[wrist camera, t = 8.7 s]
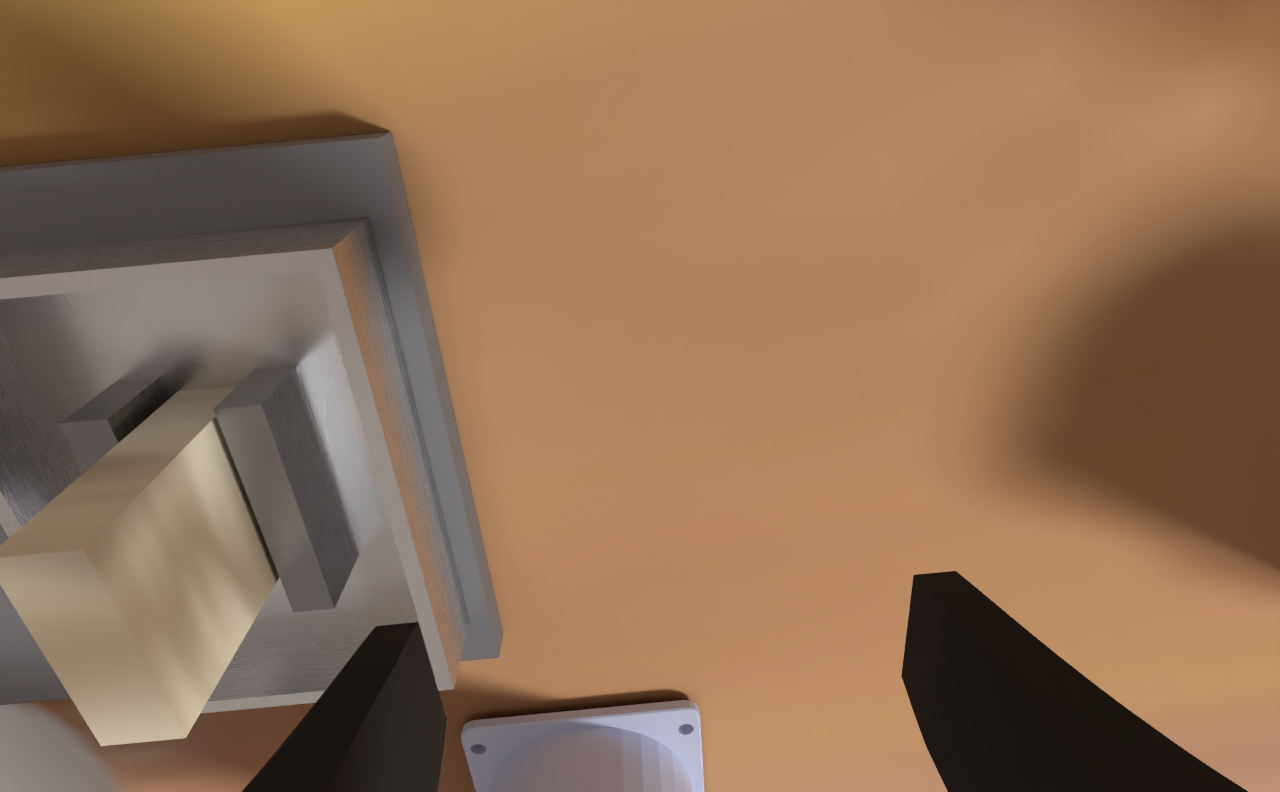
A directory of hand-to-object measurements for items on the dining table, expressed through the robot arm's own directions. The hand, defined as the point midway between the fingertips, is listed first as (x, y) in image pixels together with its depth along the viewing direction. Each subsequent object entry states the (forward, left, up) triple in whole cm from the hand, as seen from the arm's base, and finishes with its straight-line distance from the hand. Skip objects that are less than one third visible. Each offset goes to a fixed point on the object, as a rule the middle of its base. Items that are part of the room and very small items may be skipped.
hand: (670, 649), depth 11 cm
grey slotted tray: (-1, +10, -8) cm, 13 cm away
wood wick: (-1, +10, -8) cm, 13 cm away
